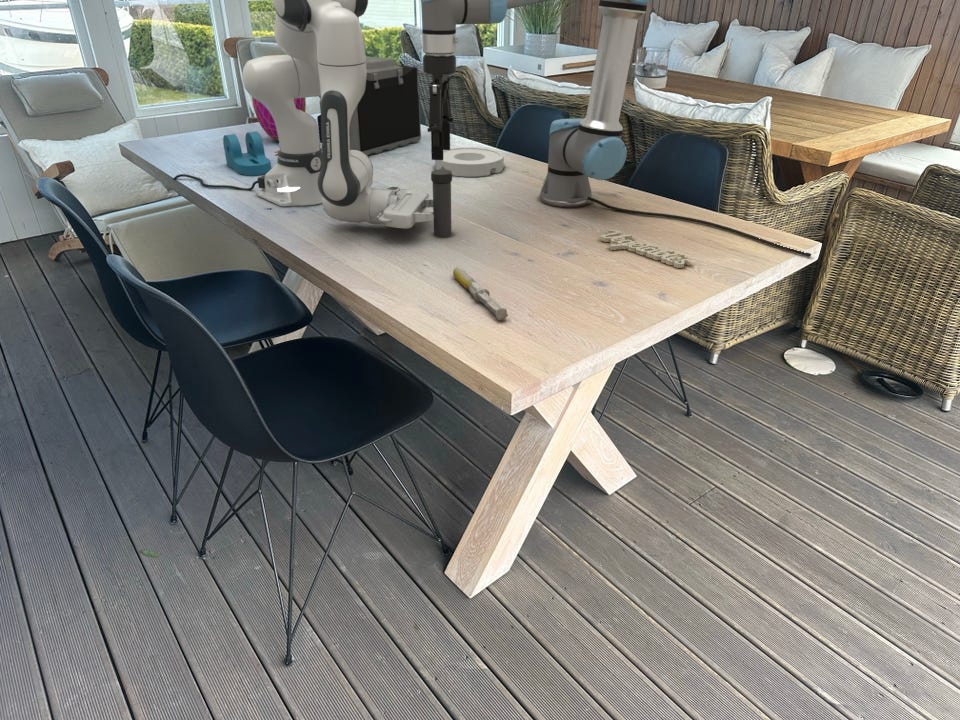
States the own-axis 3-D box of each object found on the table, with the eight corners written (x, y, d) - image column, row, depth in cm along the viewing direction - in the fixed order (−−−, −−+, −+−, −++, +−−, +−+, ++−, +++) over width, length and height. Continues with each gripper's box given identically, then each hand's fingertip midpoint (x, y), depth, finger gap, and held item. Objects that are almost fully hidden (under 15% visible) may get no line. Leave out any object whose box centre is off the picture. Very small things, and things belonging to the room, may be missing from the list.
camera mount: (227, 164, 233) (221, 132, 227) (257, 160, 238) (252, 129, 233) (244, 176, 220) (239, 143, 215) (276, 172, 225) (271, 139, 220)
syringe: (449, 274, 155) (449, 263, 153) (465, 272, 156) (464, 260, 154) (490, 323, 135) (491, 310, 133) (508, 319, 136) (508, 307, 134)
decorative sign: (586, 237, 174) (611, 228, 179) (586, 240, 174) (611, 231, 180) (674, 268, 157) (698, 257, 162) (673, 272, 157) (698, 261, 163)
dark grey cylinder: (447, 230, 180) (446, 170, 172) (454, 236, 176) (453, 175, 168) (431, 232, 178) (429, 172, 170) (437, 238, 175) (436, 177, 167)
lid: (447, 176, 173) (447, 168, 172) (455, 182, 169) (455, 173, 168) (428, 179, 171) (428, 170, 170) (435, 184, 167) (435, 175, 166)
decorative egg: (293, 132, 276) (283, 50, 261) (319, 140, 264) (310, 56, 249) (249, 139, 265) (236, 54, 250) (273, 148, 253) (261, 60, 238)
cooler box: (383, 133, 276) (378, 52, 261) (425, 141, 265) (422, 56, 250) (314, 150, 251) (304, 61, 235) (358, 160, 240) (350, 67, 224)
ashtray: (438, 158, 243) (438, 146, 241) (503, 159, 243) (503, 147, 241) (432, 176, 223) (431, 163, 221) (503, 177, 223) (503, 165, 221)
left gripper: (372, 207, 166) (428, 211, 164) (395, 184, 183) (446, 187, 181) (374, 232, 169) (428, 236, 167) (397, 207, 186) (446, 210, 184)
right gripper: (447, 60, 146) (449, 166, 157) (462, 49, 165) (463, 144, 176) (413, 59, 147) (416, 165, 158) (432, 48, 165) (434, 143, 177)
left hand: (438, 210), depth 174 cm, fingers open, 8 cm apart
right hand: (441, 154), depth 167 cm, fingers open, 9 cm apart
